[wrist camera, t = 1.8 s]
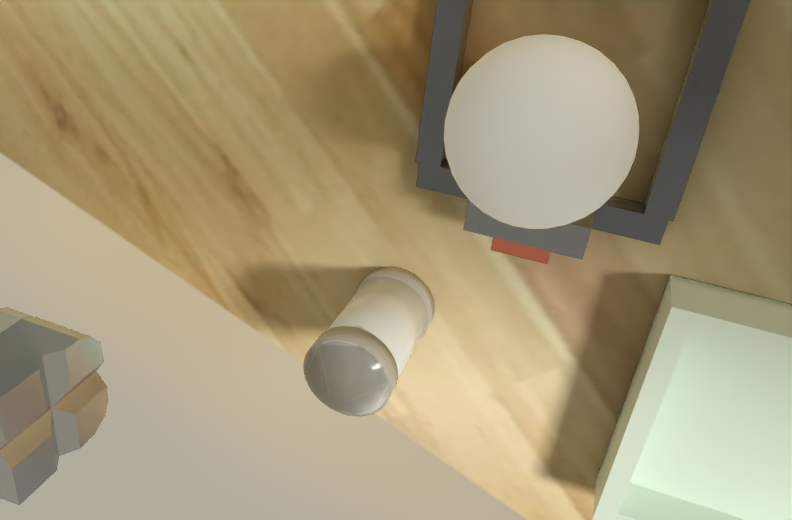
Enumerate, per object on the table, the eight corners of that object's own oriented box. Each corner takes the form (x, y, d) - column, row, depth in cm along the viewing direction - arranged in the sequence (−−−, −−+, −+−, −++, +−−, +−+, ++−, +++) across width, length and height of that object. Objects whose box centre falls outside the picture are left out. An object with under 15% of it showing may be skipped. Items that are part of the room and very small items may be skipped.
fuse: (439, 278, 35) (396, 353, 29) (428, 345, 37) (385, 427, 31) (363, 258, 36) (305, 326, 30) (356, 323, 38) (301, 400, 32)
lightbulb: (561, 179, 31) (520, 296, 21) (465, 81, 30) (380, 157, 21) (676, 82, 27) (687, 171, 18) (571, -30, 27) (526, 2, 18)
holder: (762, -51, 25) (779, -45, 21) (658, 250, 31) (659, 292, 27) (457, -94, 27) (429, -94, 24) (417, 192, 33) (390, 224, 30)
